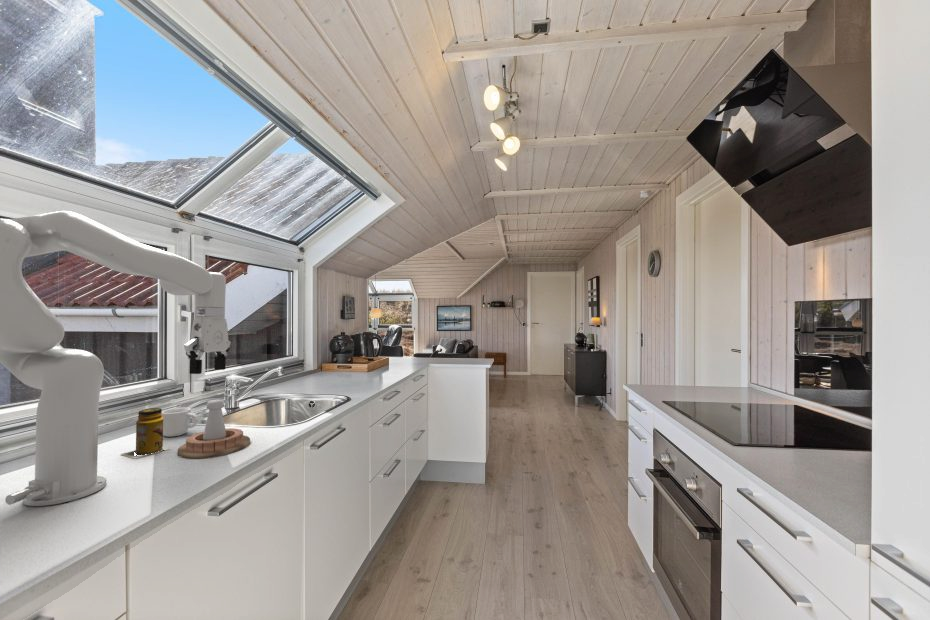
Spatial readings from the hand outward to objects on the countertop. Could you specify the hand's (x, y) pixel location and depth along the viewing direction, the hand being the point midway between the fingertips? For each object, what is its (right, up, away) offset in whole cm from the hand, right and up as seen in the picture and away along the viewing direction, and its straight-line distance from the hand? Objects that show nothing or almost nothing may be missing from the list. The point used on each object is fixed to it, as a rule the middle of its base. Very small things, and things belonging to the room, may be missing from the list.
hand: (208, 371), depth 113 cm
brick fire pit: (+2, -23, 0) cm, 23 cm away
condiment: (-15, -23, -4) cm, 28 cm away
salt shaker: (+2, -22, 0) cm, 22 cm away
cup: (-18, -23, +12) cm, 31 cm away
